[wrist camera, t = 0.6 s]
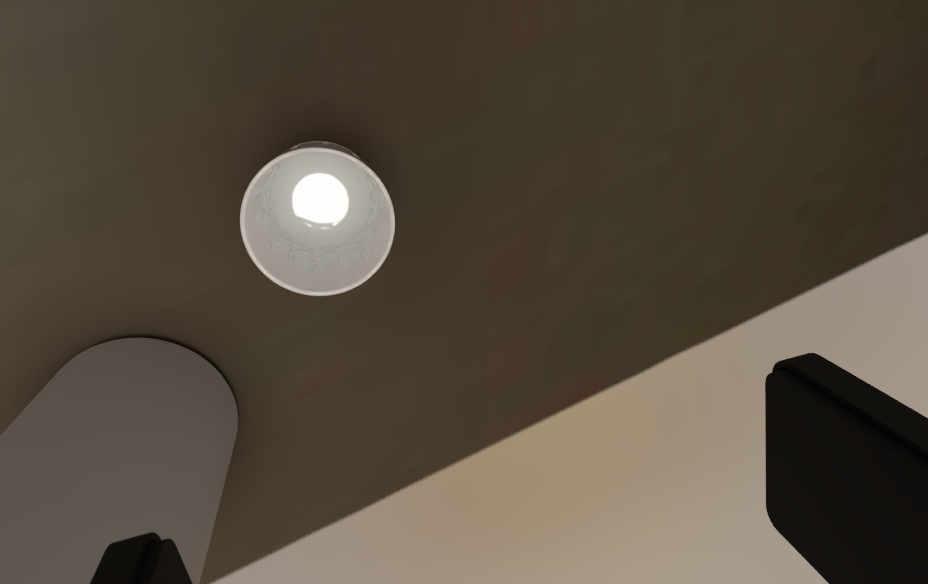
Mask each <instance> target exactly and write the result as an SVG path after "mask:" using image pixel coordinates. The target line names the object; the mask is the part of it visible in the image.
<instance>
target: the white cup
mask: <svg viewBox="0 0 928 584" xmlns="http://www.w3.org/2000/svg"><path fill="white" fill-rule="evenodd" d="M240 228H241V234H242V238H243V242H244V245H245V247H246V249H247V252H248V254H249V255H250V257H251V259H252V260H253V262H254V263H255V264H256V266H257V267H258V268H259V269H260V270H261V271H262V272H263V273H264V274H265V275H266V276H267V277H268V278H269V279H271V280H272V281H273V282H275V283H277V284H278V285H280V286H282V287H284V288H286V289H288V290H291V291H293V292H297V293H300V294H305V295H312V296H327V295H334V294H339V293H342V292H346V291H348V290H351V289H353V288H355V287H357V286H359V285H360V284H362V283H363V282H365V281H366V280H368V279H369V278H370V277H371V276H372V275H373V274H374V273H375V272H376V271H377V270H378V269H379V268H380V266H381V265H382V264H383V262H384V261H385V259H386V257H387V255H388V253H389V251H390V248H391V245H392V242H393V238H394V231H395V216H394V210H393V205H392V202H391V199H390V196H389V194H388V192H387V190H386V188H385V186H384V185H383V183H382V182H381V180H380V179H379V178H378V176H377V175H376V174H375V173H374V172H373V171H372V170H371V168H370V167H369V166H368V165H367V164H366V163H365V162H364V161H363V160H362V159H361V158H360V157H359V156H357V155H356V154H355V153H353V152H352V151H350V150H349V149H347V148H345V147H343V146H341V145H339V144H337V143H330V142H325V141H316V140H313V141H310V142H305V143H301V144H298V145H295V146H293V147H291V148H289V149H287V150H285V151H283V152H282V153H280V154H279V155H278V156H276V157H275V158H274V159H273V160H272V161H270V162H269V163H268V164H266V165H265V166H264V167H263V168H262V169H261V170H260V171H259V172H258V173H257V174H256V176H255V177H254V178H253V180H252V181H251V183H250V184H249V186H248V188H247V190H246V192H245V195H244V198H243V201H242V205H241V211H240Z"/></svg>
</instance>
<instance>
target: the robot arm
mask: <svg viewBox="0 0 928 584" xmlns="http://www.w3.org/2000/svg"><path fill="white" fill-rule="evenodd" d="M765 387H766V388H765V391H766V392H765V393H766V509H767V512H768V516H769V518H770V520H771V522H772V524H773V526H774V527H775V528H776V529H777V531H778V532H779V533H780V534H781V535H782V536H783V537H784V538H785V539H786V540H787V541H788V542H789V543H790V544H791V545H792V546H793V547H794V548H795V549H796V550H797V551H798V552H799V553H800V554H801V555H802V556H803V557H804V558H805V559H806V560H807V561H808V562H809V564H810V565H811V566H813V567H814V569H815V570H816V571H817V572H818V573H819V574H820V575H821V576H822V577H823V578H824V579H825V580H826V581H827V582H828V583H829V584H928V418H926V417H924V416H922V415H921V414H919V413H918V412H916V411H914V410H913V409H911V408H909V407H907V406H906V405H904V404H902V403H900V402H899V401H897V400H895V399H894V398H892V397H890V396H888V395H887V394H885V393H883V392H882V391H880V390H878V389H877V388H875V387H873V386H871V385H870V384H868V383H866V382H864V381H863V380H861V379H859V378H857V377H856V376H854V375H853V374H851V373H849V372H847V371H846V370H844V369H842V368H840V367H839V366H837V365H835V364H834V363H832V362H830V361H828V360H826V359H825V358H823V357H821V356H820V355H817V354H815V353H808V354H804V355H801V356H797V357H793V358H789V359H786V360H782V361H779V362H777V363H776V364H775V365H774V367H773V371H772V373H770V374H768V376H767V378H766V383H765ZM90 584H193V583H192V581H191V579H190V576H189V574H188V572H187V569H186V567H185V565H184V562H183V560H182V558H181V556H180V553H179V551H178V549H177V546H176V544H175V543H174V541H173V540H172V539H170V538H167V539H164V540H161V538H160V536H159V535H157V534H156V533H154V532H150V533H146V534H143V535H139V536H135V537H132V538H128V539H124V540H121V541H117V542H113V543H111V544H110V545H108V547H107V548H106V550H105V552H104V554H103V556H102V558H101V561H100V563H99V565H98V567H97V569H96V571H95V574H94V576H93V578H92V580H91V582H90Z"/></svg>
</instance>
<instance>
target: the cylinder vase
mask: <svg viewBox="0 0 928 584" xmlns="http://www.w3.org/2000/svg"><path fill="white" fill-rule="evenodd" d="M237 430H238V412H237V406H236V402H235V399H234V396H233V394H232V391H231V389H230V387H229V386H228V384H227V382H226V381H225V379H224V378H223V377H222V375H221V374H220V373H219V372H218V371H217V370H216V369H215V368H214V367H213V366H212V365H211V364H210V363H209V362H208V361H207V360H205V359H204V358H203V357H201V356H200V355H198V354H196V353H195V352H193V351H191V350H189V349H187V348H185V347H182V346H180V345H177V344H174V343H171V342H168V341H164V340H159V339H152V338H124V339H117V340H112V341H108V342H104V343H101V344H98V345H96V346H93V347H91V348H89V349H87V350H85V351H83V352H81V353H80V354H78V355H76V356H75V357H74V358H72V359H71V360H70V361H69V362H67V363H66V364H65V365H64V366H63V367H62V368H61V369H60V370H59V371H58V372H57V373H56V375H55V376H54V377H53V378H52V379H51V380H50V381H49V382H48V383H47V384H46V386H45V387H44V388H43V389H42V390H41V391H40V392H39V393H38V394H37V396H36V397H35V398H34V399H33V400H32V401H31V402H30V403H29V404H28V405H27V407H26V408H25V409H24V410H23V411H22V412H21V413H20V414H19V415H18V416H17V418H16V419H15V420H14V421H13V422H12V423H11V424H10V425H9V426H8V427H7V429H6V430H5V431H4V432H3V433H2V434H1V435H0V584H90V582H91V580H92V578H93V576H94V574H95V571H96V569H97V567H98V565H99V563H100V561H101V558H102V556H103V554H104V552H105V550H106V548H107V547H108V545H110V544H111V543H113V542H117V541H121V540H124V539H128V538H132V537H135V536H139V535H143V534H146V533H150V532H154V533H156V534H157V535H159V536H160V538H161V540H164V539H167V538H170V539H172V540H173V541H174V543H175V544H176V546H177V549H178V551H179V553H180V556H181V558H182V560H183V562H184V565H185V567H186V569H187V572H188V574H189V576H190V579H191V581H192V583H193V584H199V582H200V578H201V574H202V570H203V566H204V562H205V558H206V554H207V551H208V547H209V543H210V539H211V535H212V531H213V527H214V523H215V519H216V515H217V511H218V507H219V503H220V499H221V495H222V491H223V487H224V483H225V480H226V476H227V472H228V468H229V464H230V460H231V456H232V452H233V448H234V444H235V440H236V436H237Z"/></svg>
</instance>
